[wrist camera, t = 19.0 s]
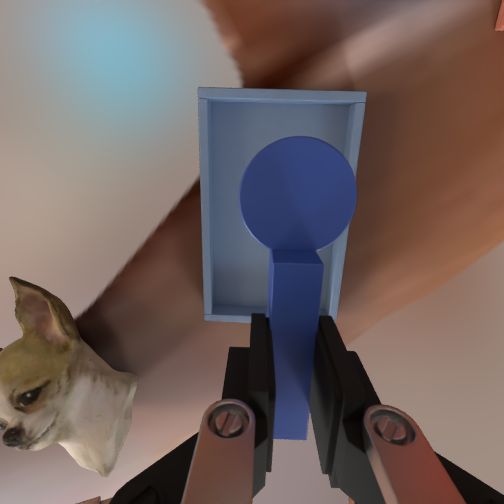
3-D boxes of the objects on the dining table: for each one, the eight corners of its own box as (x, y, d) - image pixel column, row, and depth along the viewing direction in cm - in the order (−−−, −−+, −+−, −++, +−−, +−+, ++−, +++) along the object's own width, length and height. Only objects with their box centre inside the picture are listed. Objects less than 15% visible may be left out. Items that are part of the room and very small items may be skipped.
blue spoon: (324, 391, 14) (339, 442, 11) (237, 387, 14) (232, 437, 11) (354, 139, 11) (383, 133, 8) (241, 136, 11) (235, 129, 8)
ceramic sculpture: (54, 538, 21) (-141, 414, 19) (115, 433, 30) (-16, 338, 27) (142, 459, 19) (-71, 305, 17) (182, 369, 27) (43, 258, 25)
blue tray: (202, 92, 20) (197, 86, 18) (357, 96, 20) (367, 91, 18) (208, 308, 25) (204, 321, 23) (330, 313, 25) (335, 325, 23)
